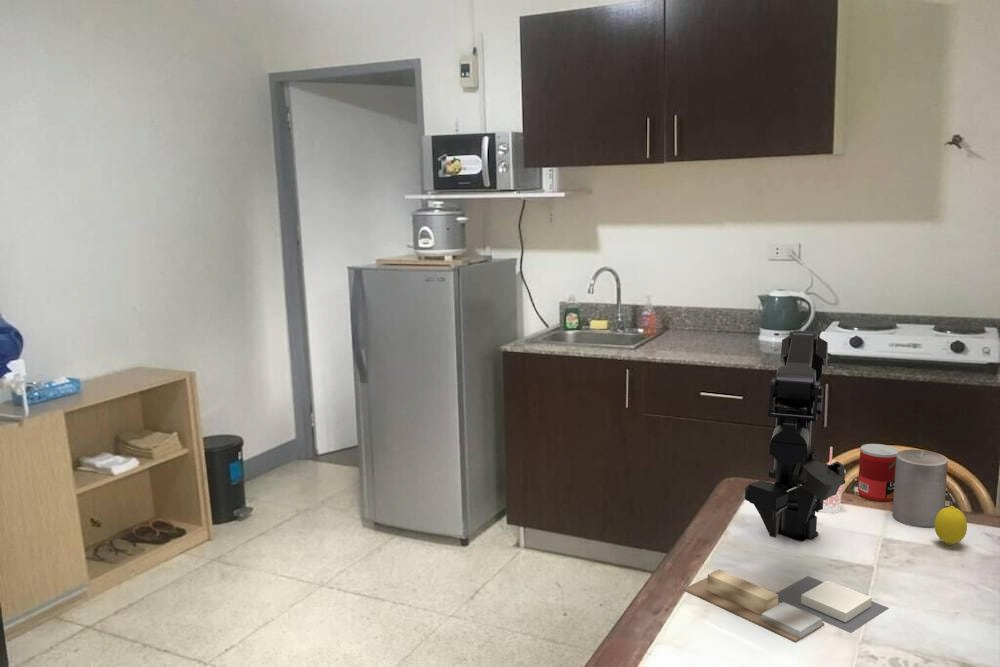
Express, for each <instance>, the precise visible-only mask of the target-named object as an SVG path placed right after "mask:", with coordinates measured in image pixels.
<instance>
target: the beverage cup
mask: <svg viewBox="0 0 1000 667" xmlns="http://www.w3.org/2000/svg"><path fill="white" fill-rule="evenodd" d="M832 461H833V446H830V447H829V463H828V465H831V464H833V462H832ZM845 473H846V470H845ZM843 486H844V484H843V485H841V486H840V487H839V489H838V491H837V493H836V495H835V496H831V497H829V498H828V499H826V500H823V509H822V510H819V512H823V513H827V514H828V513H829V514H834V513H838V512H840V509H841V501H842V492H843Z"/></svg>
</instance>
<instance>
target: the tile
mask: <svg viewBox="0 0 1000 667" xmlns="http://www.w3.org/2000/svg"><path fill="white" fill-rule="evenodd" d="M822 582H823V583H822V584H820V585H818V586H816V587H815V588H813V589H811V590H809V591H807V592H806V593H804V594H802V595H801V604H803V605H805V606H808V607H810V608H812V609H815V610H817V611H820V612H822V613H824V614H827V615H829V616H831V617H834V618H836V619H838V620H841V621H843V622H847V621H849V620H850V619H852V618H853V617H855V616H857V615H858V614H860V613H861V612H863V611H864V610H866V609H868V608H869V607H871V601H873V600H872V599H873V597H872V596H869V595H867V594H863V593H862V592H859V591H856V590H853V589H851V588H848V587H847V586H846V587H845V586H843V585H841V584H838V583H836V582H833V581H830V580H825V581H822Z"/></svg>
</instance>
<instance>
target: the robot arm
mask: <svg viewBox="0 0 1000 667" xmlns="http://www.w3.org/2000/svg"><path fill="white" fill-rule="evenodd" d="M828 343H829V342H828V341H827V340H824V339H823V338H821V337H819V334H818V332H814V331H811V330H810V331H809V330H793V331H789V333H788V336H786V337H785V338H783V339H782V340H781V348H780V362H781V364H784V365H782V366H779V367H778V368H777V370H776V375H775V377H771V381H770V392H769V400H768V410H767V411H768V412H767V417H768V418H775V428H774V430H773V432H772V433H773V434H772V436H771V439H770V443H769V455H770V456H772V457H773V460H774V464H773V469H771V470H769V471H768V477H769V478H771V479H773V480H774V483H773V482H771V481H767V480H764V479H758V480H757V481H755V482H751V483H749V484H748V485H747V486H745V487H744V492H743V493H744V494H743V496H744V501H748V502H749V503H750V504H753V506H754V507H755V509H756V511H757V513H758V514H759V516H760V518H761V520H762V522H763V525H764V526H765V529H766V531H767V533H768V535H769V536H770V537H772V538H774V539H775V538H777V536H778V535H780V536H783V537H785V538H788V539H790V540H794V541H796V542H800V543H801V542H805V541H807V540H811V539H813V538H815V537H817V536H818V535H819V532H818V531H817V524H818V522H817V521H818V517H817V515H816V513H819V512H820V510H822V509H823V500H826V499H828V498H829V497H831V496H835V495H836V493H837V491H838V489H839V487H840V486H841V485H843V486H844V485H845V484H846V479H845V478H846V472H845V471H846V469H845V467H846V466H845V465H844V464H843V463H841V462H839V461H835V462H832V464H831V465H829V463H828V464H827V463H826V462H825V463H824V462H820V461H818V460H817V453H816V450H814V449H811V442H812V426H813V425H812V424H813V422H817V421H818V420H817V419H818V415H822V409H823V397H824V396H823V395H824V388H823V386H821V385H822V384H821V381H820V378H821V377H822V376H823V373H824V367H827V366H828V357H829V356H828V355H829V354H828V350H829V347H828V346H829V344H828ZM774 405H775V406H774Z"/></svg>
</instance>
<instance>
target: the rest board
mask: <svg viewBox="0 0 1000 667" xmlns="http://www.w3.org/2000/svg"><path fill="white" fill-rule="evenodd" d="M707 585H708V576H707V577H705V578H703V579H701V580H698V581H697V582H694V583H692V584H690V585H689V586H687V587H684V588H683V591H684V592H687V594H691V595H693V596H695V597H697V598H699V599H701V600H702V601H703V600H704V601H705V602H708V603H709V604H711V605H714V606H715V607H719V608H720V609H723V610H725V611H727V612H729V613H732V614H734V615H736V616H737V617H740V618H742V619H744V620H746V621H748V622H751V623H753V624H754V625H757V626H759V627H761V628H764V629H766V630H768V631H770V632H772V633H774V634H776V635H778V636H781V637H783V638H784V639H787V640H789V641H791V642H793V643H798V642H800V641H801V640H803V639H804V638H806V637H807V636H809V635H811V634H813V633H814V632H816V631H817V630H819V629H820V628H823V627H824V626H825V622H824V621H822V622H821V626H820V627H818V628H816V629H815V630H813V631H811V632H810V633H808V634H806V635H805V636H803V637H802V638H798V637H796V636H794V635H791V634H789V633H787V632H785V631H783V630H781V629H778V628H776V627H774V626H772V625H770V624H768V623H765V622H763V621H761V617H762V615H760V614H758V613H756V612H754V611H751V610H749V609H747V608H745V607H743V606H740V605H738V604H736V603H734V602H732V601H729V600H727V599H725V598H723V597H721V596H718V595H716V594H714V593H712V592H710V591H707ZM778 604H780V602H778Z"/></svg>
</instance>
